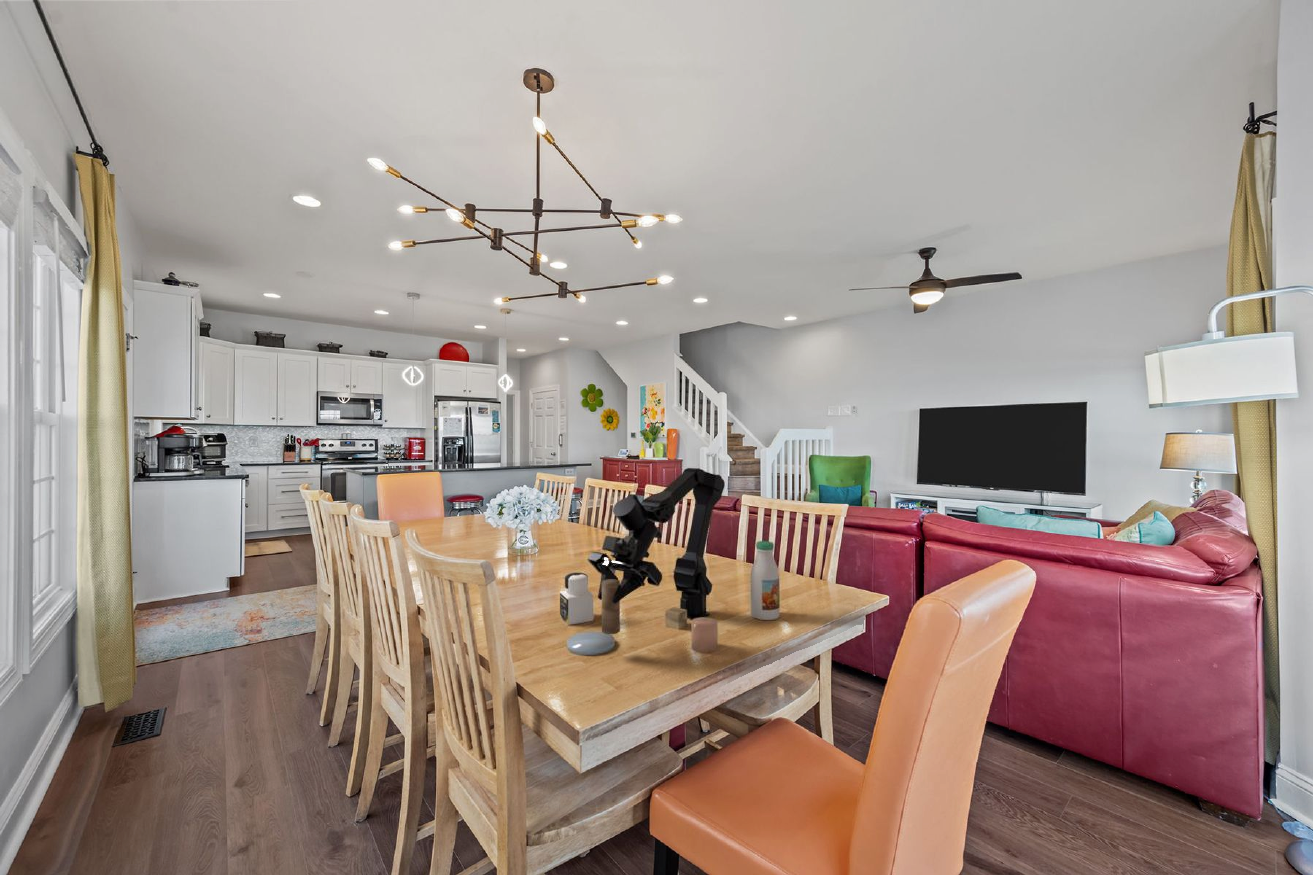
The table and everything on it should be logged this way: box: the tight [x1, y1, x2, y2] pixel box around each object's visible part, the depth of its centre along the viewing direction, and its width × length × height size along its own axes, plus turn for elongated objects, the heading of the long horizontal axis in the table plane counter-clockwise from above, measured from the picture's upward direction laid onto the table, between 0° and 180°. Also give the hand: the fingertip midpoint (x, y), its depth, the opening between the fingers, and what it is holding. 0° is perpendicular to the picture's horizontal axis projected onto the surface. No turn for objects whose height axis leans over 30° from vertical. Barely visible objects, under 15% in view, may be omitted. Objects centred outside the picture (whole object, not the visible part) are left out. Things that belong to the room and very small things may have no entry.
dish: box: [566, 631, 616, 656], centre depth 122 cm, size 11×11×1 cm
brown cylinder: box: [601, 579, 621, 635], centre depth 117 cm, size 4×4×11 cm
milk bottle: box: [749, 540, 781, 621], centre depth 142 cm, size 8×8×20 cm
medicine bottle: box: [559, 572, 594, 626], centre depth 140 cm, size 7×7×12 cm
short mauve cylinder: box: [691, 616, 719, 654], centre depth 121 cm, size 6×6×6 cm
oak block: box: [664, 606, 688, 630], centre depth 135 cm, size 4×4×4 cm
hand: (606, 600), depth 116 cm, fingers closed on brown cylinder, 4 cm apart
